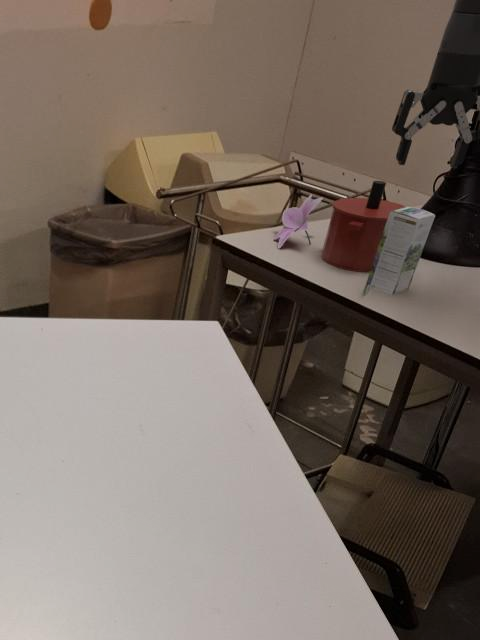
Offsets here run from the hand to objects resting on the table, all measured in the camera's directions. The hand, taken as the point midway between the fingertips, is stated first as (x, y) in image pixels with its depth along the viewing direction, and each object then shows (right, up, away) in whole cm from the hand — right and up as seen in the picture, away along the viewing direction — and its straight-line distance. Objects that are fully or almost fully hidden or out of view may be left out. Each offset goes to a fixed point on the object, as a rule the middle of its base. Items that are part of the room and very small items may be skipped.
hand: (426, 165), depth 140 cm
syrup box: (-1, -16, +14) cm, 22 cm away
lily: (-10, +4, +38) cm, 39 cm away
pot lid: (+1, +5, +24) cm, 24 cm away
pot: (+1, -2, +30) cm, 30 cm away
